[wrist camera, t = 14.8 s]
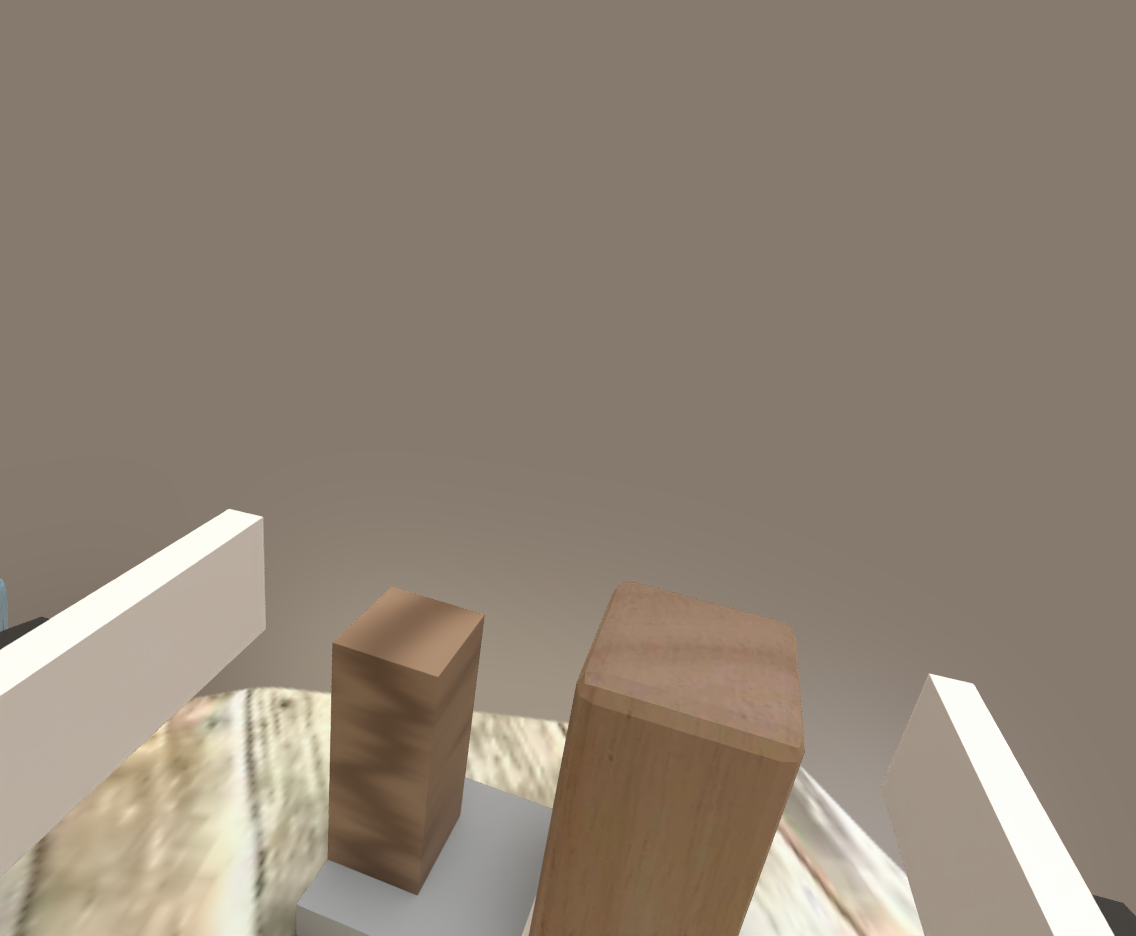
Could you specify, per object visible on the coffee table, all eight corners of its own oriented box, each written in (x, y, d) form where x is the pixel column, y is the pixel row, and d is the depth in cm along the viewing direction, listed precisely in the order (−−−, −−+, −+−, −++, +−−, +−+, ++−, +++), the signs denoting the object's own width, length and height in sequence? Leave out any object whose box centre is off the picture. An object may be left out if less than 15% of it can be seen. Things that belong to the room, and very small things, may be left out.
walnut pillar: (327, 859, 41) (332, 642, 35) (379, 785, 47) (391, 586, 41) (417, 895, 40) (438, 677, 34) (460, 815, 45) (484, 614, 40)
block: (566, 827, 46) (618, 570, 38) (715, 878, 44) (800, 618, 36) (518, 977, 37) (574, 679, 29) (702, 1049, 35) (813, 750, 27)
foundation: (296, 939, 40) (296, 903, 39) (399, 785, 51) (401, 753, 49) (705, 1116, 35) (719, 1081, 34) (722, 904, 46) (733, 871, 44)
